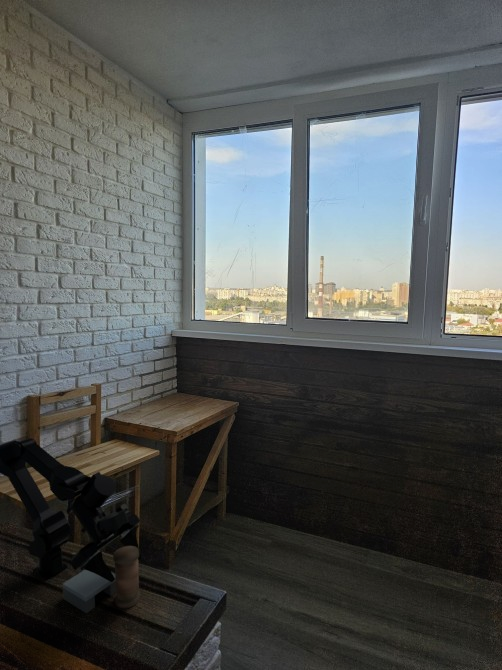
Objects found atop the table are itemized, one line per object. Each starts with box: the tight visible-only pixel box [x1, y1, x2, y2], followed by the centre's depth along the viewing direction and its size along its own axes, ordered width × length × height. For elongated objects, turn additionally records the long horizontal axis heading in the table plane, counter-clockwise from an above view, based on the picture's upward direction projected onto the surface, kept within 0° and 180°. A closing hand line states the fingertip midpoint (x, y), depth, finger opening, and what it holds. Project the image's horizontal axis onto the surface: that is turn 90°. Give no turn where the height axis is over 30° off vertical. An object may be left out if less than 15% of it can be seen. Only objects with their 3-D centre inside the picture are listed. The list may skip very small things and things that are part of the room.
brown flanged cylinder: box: [112, 545, 141, 609], centre depth 105 cm, size 6×6×12 cm
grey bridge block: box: [62, 569, 117, 614], centre depth 107 cm, size 9×9×4 cm
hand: (127, 569), depth 105 cm, fingers open, 9 cm apart
